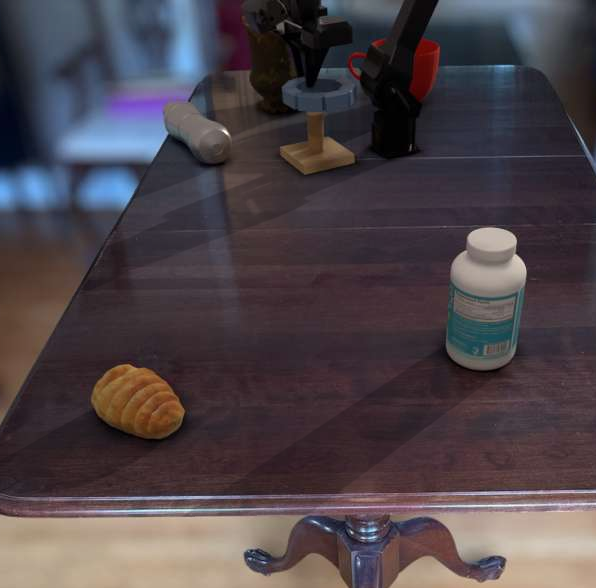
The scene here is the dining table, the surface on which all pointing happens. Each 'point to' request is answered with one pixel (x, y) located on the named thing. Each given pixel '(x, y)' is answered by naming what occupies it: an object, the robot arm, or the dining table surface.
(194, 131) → the plastic bottle
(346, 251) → the dining table surface
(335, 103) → the ring
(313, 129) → the stand
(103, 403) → the pastry
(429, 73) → the ceramic cup
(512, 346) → the pill bottle
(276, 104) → the pottery vessel
